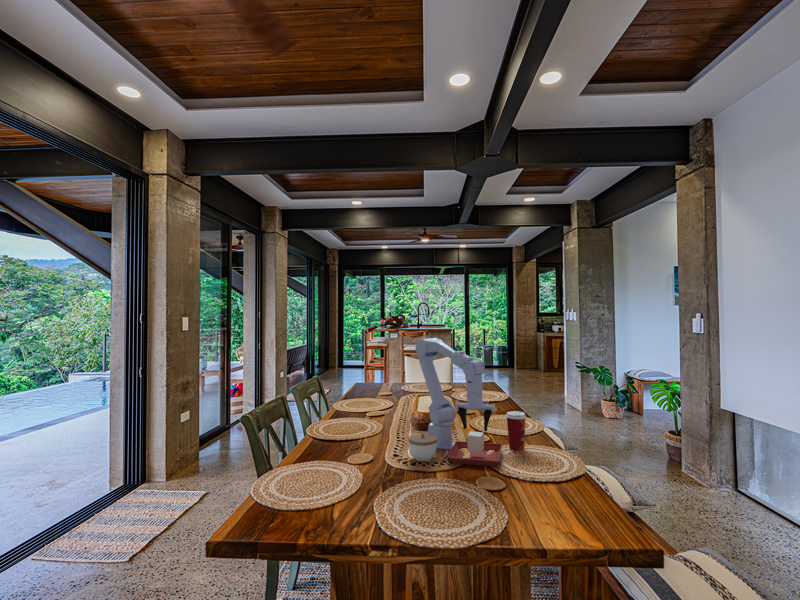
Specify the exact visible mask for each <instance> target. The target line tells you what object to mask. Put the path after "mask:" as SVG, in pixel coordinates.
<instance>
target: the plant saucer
mask: <svg viewBox="0 0 800 600" xmlns="http://www.w3.org/2000/svg"><path fill="white" fill-rule="evenodd" d="M454 442H455V444H454V446H453V447H452V448H451V449H450V452H449V453H448V456H447V458H448V459H449V460H450V461H451V462H452V463H453V462H454V463H453V464H458V463H464V464H463V465H471V466H481V467H482V466H483V467H491V466H495V467H496V466H497V465H498V464H499V463H500V461H501V460H500V459H501V455H502V454H501V453H502V447H503V444H501V443H489V442H484V449H483V451H482V453H474V452H470V458H461V457H463V456H464V455H463V454H464V453H463V451H461V450H460V448H461V449H462V448H467V449H468V443H467V441H459V440H457V441H454ZM489 450H494V452H493V453H491V454H489V455H487V452H488V451H489ZM486 455H487V456H486Z"/></svg>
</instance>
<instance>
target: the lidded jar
mask: <svg viewBox="0 0 800 600" xmlns="http://www.w3.org/2000/svg"><path fill="white" fill-rule="evenodd" d="M407 441H408V449H409V453H410V454H411V457H413V459H414V460H415V459H416V460H417V462H419V461H427V462H429V461H432V459H433V457H435V455H436V453H437V449H438V448H437V437H436V436H434V435H431V434H428V433H424V432H421V433H415V434H411V435H410V436H409V437H408V440H407ZM416 460H415V461H416Z"/></svg>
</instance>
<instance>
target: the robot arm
mask: <svg viewBox="0 0 800 600" xmlns="http://www.w3.org/2000/svg"><path fill="white" fill-rule="evenodd" d="M415 351H416V354H417V357H418V362H419V366H420V368H421V372H422V374H423V378H424V380H425V381H424V382H425V385H426V387H427V391H428V393H429V397H430V399H431V403H430V404H429V406H428V411H429V419H430V423H429V424H428V428H427V434H431V435H434V436H436V437H437V449H441V450H450V451H451V449H452V448H453V446H454V444H455V442H456V441H453V423H454V420H455V419H456V417H457V414H458V415H459V418H460V419H461V423H462V427H463V430H466V429H467V426H468V425H467V424H468V422H467V421H468V420H467V412H468V411H467V410H469V411H470V410H471V411H472V410H473V411H483V413H482V414H483V423H484V425H483V432H488V425H489V421H490V418H491V415H493V414H492V413H494V412H496V405H494V404H486V403H483V402H484V401H483V374H484V373H485V371H486V366H485V363H484V361H483V360H481V359H480V358H478V359H474V357H473V356H469V355H468V354H466V353H465V351H464V350H457V351H456V350H454V349H453V348H452V347H450V345H447V344H446V343H444V340H443V339H440V338H439V337H430V338H419V339H418V340H417V343H416V345H415ZM439 354H442V355H443V356H445V357H446V358H448V359H450V360H451V363H452V364H453V365H454V366H456V367H458V369H461V370H462V371H463V375H464V376H465V377H464V379H465V381H466V402H455V405H454V406H453V405H452V402H451V401H450V400H449V399H447V398H446V397H445V395H444V391H443V388H442V386H441V383H440V380H439V377H438V374H437V371H436V367H435V365H434V361H435V359H436V358H437V356H438V355H439ZM456 410H457V413H456Z"/></svg>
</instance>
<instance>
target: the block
mask: <svg viewBox="0 0 800 600" xmlns="http://www.w3.org/2000/svg"><path fill="white" fill-rule="evenodd" d="M484 435H485V434H484V431H483V432H481V431H471V430H470V431H469V432H468V434H467V436H466V438H467V441H466V442H467V443H468V452H474V453H482V451H483V449H484V443H485V441H484V439H485V437H484Z"/></svg>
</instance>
